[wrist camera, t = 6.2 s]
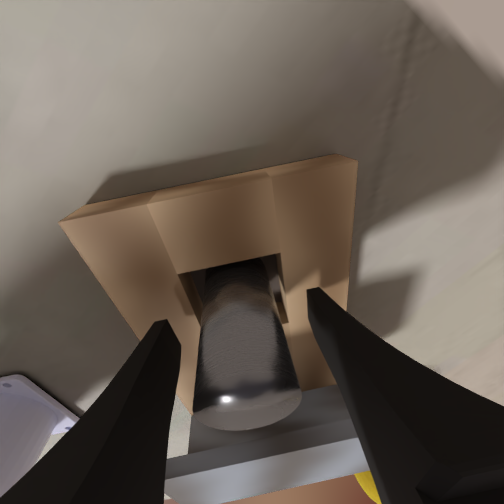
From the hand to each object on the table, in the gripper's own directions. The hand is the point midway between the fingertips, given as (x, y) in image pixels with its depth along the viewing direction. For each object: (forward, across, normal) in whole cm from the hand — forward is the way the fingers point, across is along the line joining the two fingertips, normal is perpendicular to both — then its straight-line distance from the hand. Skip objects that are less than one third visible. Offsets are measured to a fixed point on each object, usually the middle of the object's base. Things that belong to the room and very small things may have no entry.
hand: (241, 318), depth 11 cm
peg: (+3, 0, 0) cm, 3 cm away
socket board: (+3, 0, +3) cm, 4 cm away
